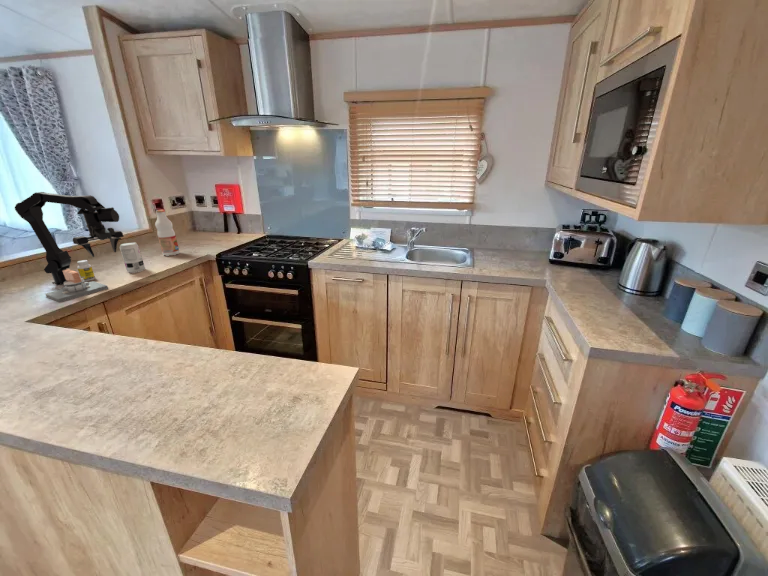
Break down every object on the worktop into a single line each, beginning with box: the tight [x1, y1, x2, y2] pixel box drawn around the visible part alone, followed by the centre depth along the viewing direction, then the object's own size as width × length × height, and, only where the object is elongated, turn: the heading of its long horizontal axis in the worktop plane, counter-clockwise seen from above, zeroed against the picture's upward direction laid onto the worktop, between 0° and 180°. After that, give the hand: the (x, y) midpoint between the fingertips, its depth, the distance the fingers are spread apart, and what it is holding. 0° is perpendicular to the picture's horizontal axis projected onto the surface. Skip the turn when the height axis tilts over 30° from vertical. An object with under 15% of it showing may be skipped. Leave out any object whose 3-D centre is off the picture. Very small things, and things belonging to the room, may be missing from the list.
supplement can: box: [119, 242, 146, 274], centre depth 180 cm, size 8×8×15 cm
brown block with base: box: [61, 268, 89, 292], centre depth 152 cm, size 9×10×8 cm
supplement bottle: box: [76, 259, 96, 282], centre depth 169 cm, size 5×5×10 cm
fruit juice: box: [154, 209, 180, 257], centre depth 209 cm, size 9×9×28 cm
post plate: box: [44, 280, 109, 303], centre depth 153 cm, size 14×18×4 cm
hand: (104, 254), depth 166 cm, fingers open, 9 cm apart
